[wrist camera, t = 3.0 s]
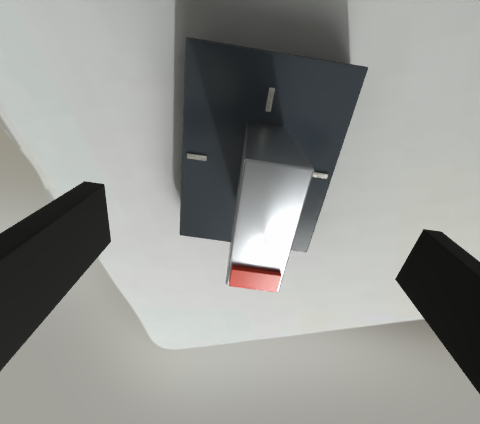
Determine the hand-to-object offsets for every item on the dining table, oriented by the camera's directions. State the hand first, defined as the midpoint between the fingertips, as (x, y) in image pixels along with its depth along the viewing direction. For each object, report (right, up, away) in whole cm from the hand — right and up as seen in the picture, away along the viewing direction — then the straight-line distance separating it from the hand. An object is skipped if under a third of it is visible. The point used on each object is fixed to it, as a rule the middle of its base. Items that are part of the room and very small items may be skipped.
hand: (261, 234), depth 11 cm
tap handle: (0, +4, +7) cm, 9 cm away
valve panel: (0, +6, +10) cm, 12 cm away
